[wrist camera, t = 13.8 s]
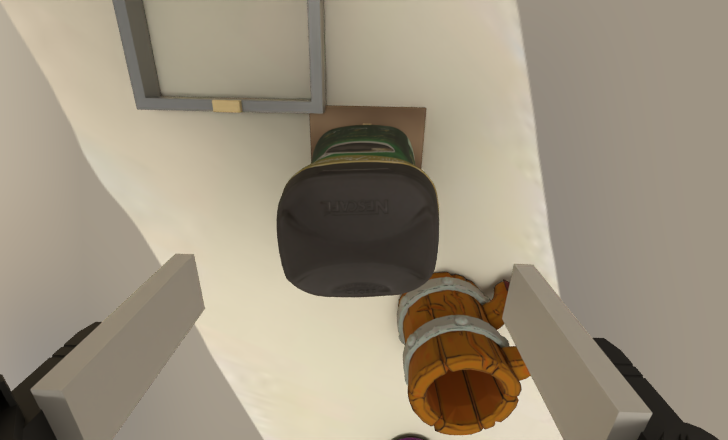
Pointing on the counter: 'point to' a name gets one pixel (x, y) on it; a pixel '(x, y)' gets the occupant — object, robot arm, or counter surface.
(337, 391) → the counter surface
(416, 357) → the mug
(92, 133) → the counter surface
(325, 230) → the coffee jar
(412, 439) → the beverage can
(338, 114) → the pad
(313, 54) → the grey square shallow frame
